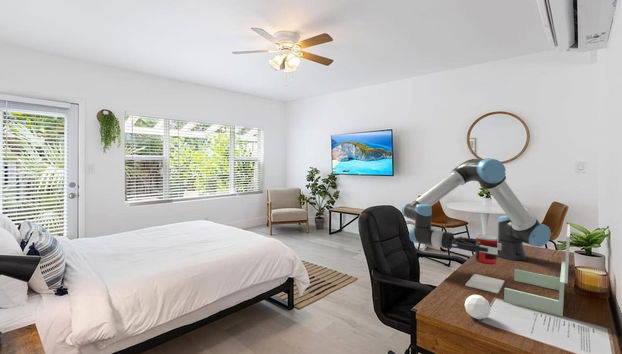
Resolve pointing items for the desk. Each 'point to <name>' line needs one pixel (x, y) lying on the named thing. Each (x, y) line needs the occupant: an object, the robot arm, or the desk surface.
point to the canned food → (486, 241)
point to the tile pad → (485, 283)
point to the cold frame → (543, 281)
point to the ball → (477, 306)
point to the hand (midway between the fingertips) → (499, 249)
